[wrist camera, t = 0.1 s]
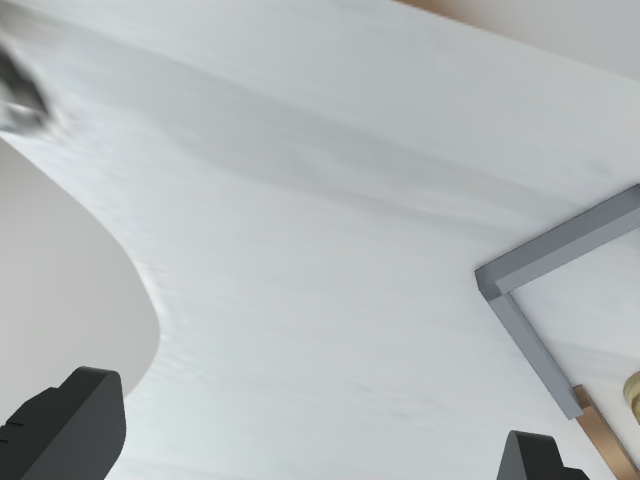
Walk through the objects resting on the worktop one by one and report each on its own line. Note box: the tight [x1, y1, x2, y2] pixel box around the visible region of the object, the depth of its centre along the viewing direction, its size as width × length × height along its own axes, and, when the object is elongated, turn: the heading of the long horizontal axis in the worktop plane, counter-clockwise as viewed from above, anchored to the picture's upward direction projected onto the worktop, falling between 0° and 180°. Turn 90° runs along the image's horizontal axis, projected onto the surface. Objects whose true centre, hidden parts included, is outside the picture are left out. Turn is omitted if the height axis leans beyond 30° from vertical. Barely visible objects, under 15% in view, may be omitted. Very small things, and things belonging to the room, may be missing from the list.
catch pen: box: [475, 184, 640, 420], centre depth 39 cm, size 13×12×3 cm
